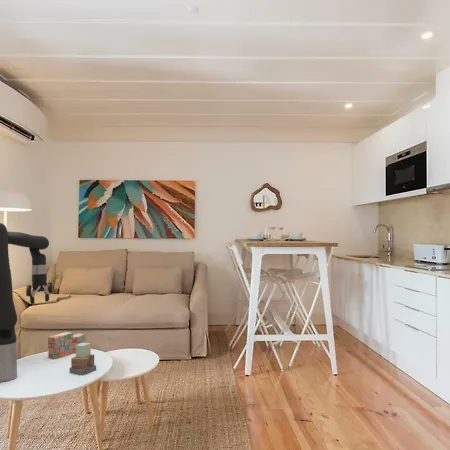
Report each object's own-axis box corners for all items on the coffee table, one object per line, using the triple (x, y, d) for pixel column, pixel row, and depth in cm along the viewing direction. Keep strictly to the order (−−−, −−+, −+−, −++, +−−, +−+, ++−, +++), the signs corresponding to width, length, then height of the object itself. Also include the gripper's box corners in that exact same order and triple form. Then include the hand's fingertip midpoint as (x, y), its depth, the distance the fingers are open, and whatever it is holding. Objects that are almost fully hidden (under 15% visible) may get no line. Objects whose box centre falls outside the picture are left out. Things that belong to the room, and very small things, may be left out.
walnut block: (86, 369, 203) (85, 359, 203) (71, 368, 204) (71, 358, 204) (94, 364, 211) (94, 354, 211) (80, 363, 212) (80, 353, 212)
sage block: (83, 358, 205) (82, 346, 205) (75, 357, 207) (75, 345, 207) (90, 355, 209) (90, 343, 209) (83, 354, 212) (83, 342, 212)
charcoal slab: (81, 376, 201) (81, 370, 201) (69, 373, 206) (69, 367, 206) (96, 371, 209) (96, 365, 209) (84, 368, 214) (84, 362, 214)
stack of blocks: (78, 348, 251) (78, 328, 251) (85, 349, 248) (85, 329, 248) (48, 358, 232) (47, 336, 233) (55, 359, 229) (55, 337, 230)
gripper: (46, 271, 236) (47, 300, 235) (23, 274, 223) (23, 304, 223) (54, 272, 232) (55, 301, 231) (31, 274, 219) (31, 305, 219)
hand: (39, 302), depth 227 cm, fingers open, 8 cm apart
